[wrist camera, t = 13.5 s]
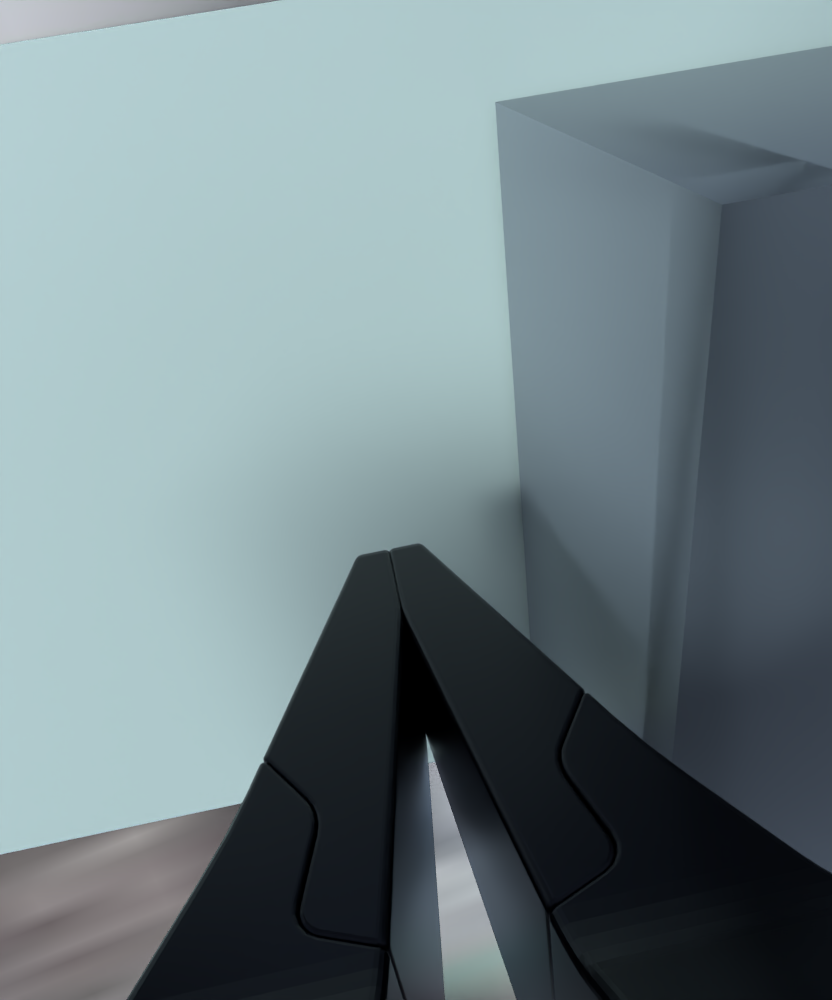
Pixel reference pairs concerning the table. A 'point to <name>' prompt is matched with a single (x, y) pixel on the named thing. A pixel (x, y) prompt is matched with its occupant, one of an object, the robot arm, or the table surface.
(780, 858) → the robot arm
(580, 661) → the cover
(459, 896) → the table surface
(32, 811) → the board
